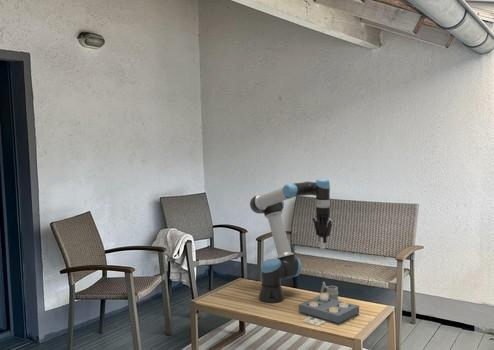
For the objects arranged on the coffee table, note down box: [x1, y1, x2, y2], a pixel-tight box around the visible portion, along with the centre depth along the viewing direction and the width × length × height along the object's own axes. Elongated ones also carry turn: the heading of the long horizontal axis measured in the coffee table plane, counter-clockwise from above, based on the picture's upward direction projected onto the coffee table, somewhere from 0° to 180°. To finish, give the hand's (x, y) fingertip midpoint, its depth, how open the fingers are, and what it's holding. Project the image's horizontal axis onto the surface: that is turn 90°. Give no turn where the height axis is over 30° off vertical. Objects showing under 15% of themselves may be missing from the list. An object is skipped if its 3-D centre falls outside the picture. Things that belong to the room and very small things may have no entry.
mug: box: [319, 281, 339, 300], centre depth 283 cm, size 8×12×12 cm, turn 48°
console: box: [298, 295, 360, 326], centre depth 265 cm, size 26×20×5 cm
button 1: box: [309, 302, 318, 307], centre depth 266 cm, size 5×5×5 cm
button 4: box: [339, 301, 349, 308], centre depth 264 cm, size 5×5×5 cm
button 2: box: [319, 292, 328, 303], centre depth 273 cm, size 5×5×5 cm
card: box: [301, 316, 327, 327], centre depth 254 cm, size 10×7×1 cm
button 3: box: [329, 307, 338, 313], centre depth 257 cm, size 5×5×5 cm
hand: (322, 248), depth 273 cm, fingers closed
